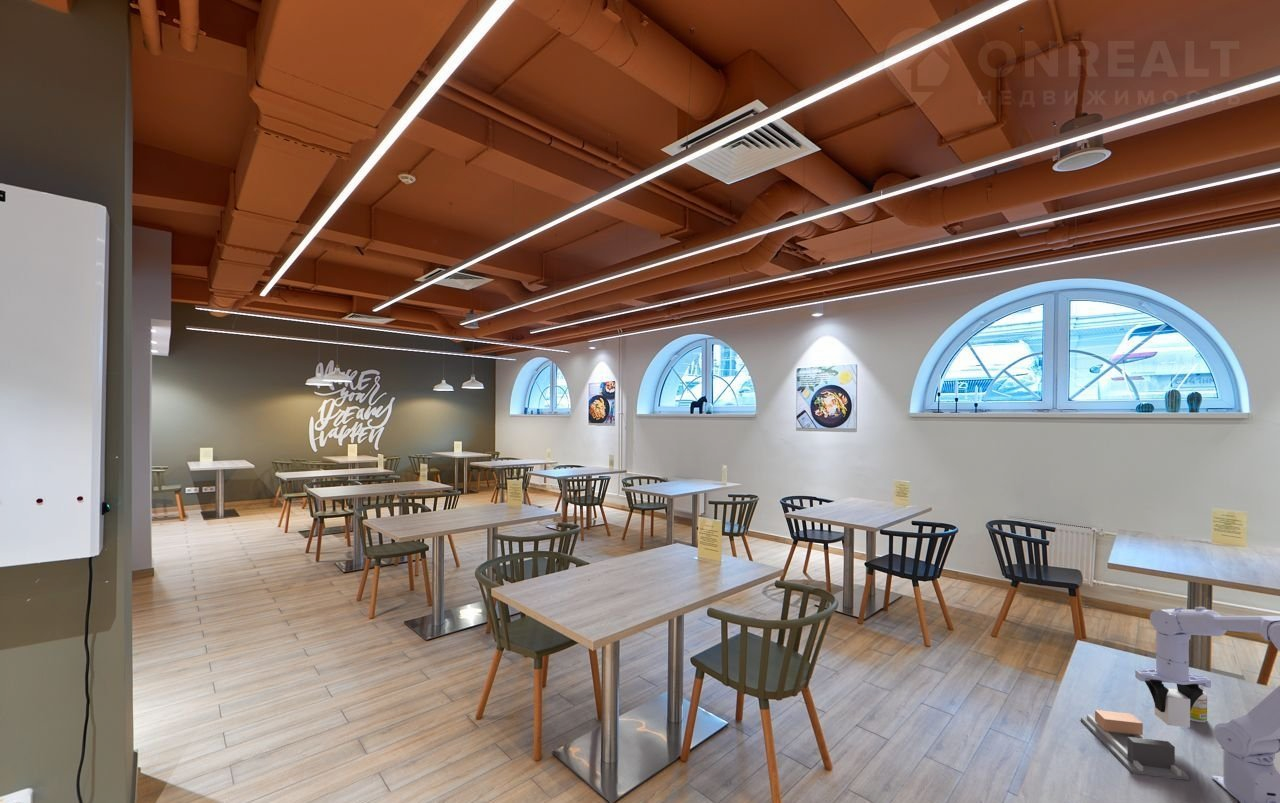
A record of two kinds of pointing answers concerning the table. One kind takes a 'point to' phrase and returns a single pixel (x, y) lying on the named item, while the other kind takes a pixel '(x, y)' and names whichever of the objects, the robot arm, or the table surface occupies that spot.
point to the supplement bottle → (1199, 708)
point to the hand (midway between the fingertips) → (1172, 711)
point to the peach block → (1119, 722)
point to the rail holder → (1139, 752)
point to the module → (1175, 709)
